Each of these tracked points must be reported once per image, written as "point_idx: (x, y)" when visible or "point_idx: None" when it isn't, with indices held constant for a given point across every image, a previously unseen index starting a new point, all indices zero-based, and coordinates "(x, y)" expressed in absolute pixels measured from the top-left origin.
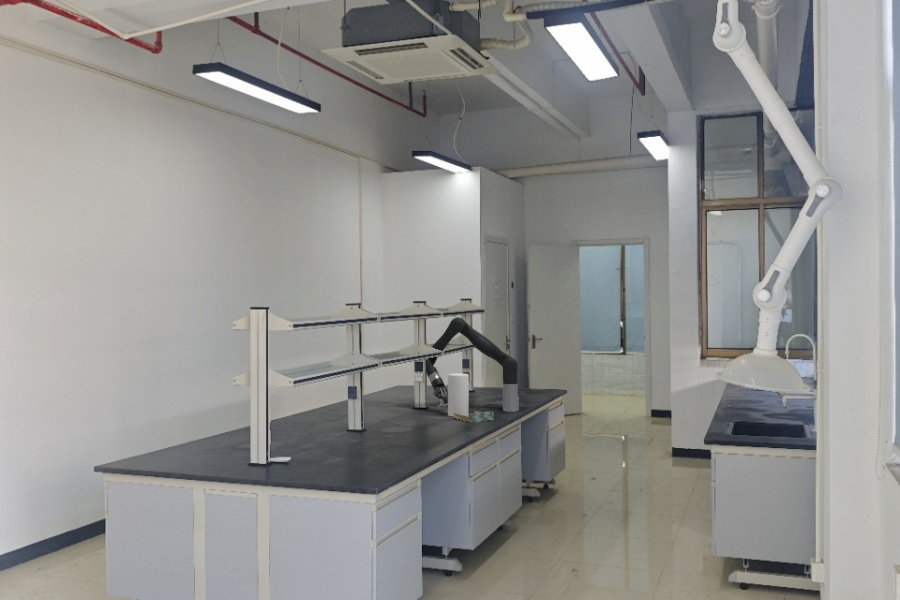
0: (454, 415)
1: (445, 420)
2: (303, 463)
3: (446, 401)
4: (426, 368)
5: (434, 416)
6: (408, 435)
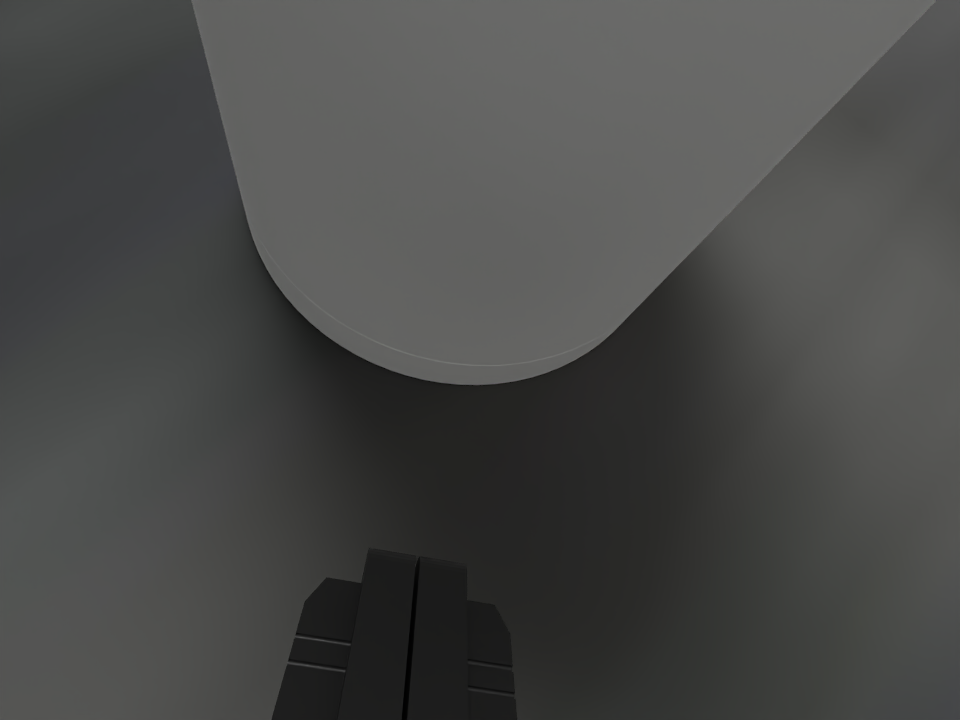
0: None
1: (913, 67)
2: None
3: (463, 588)
4: None
5: (882, 449)
6: None
